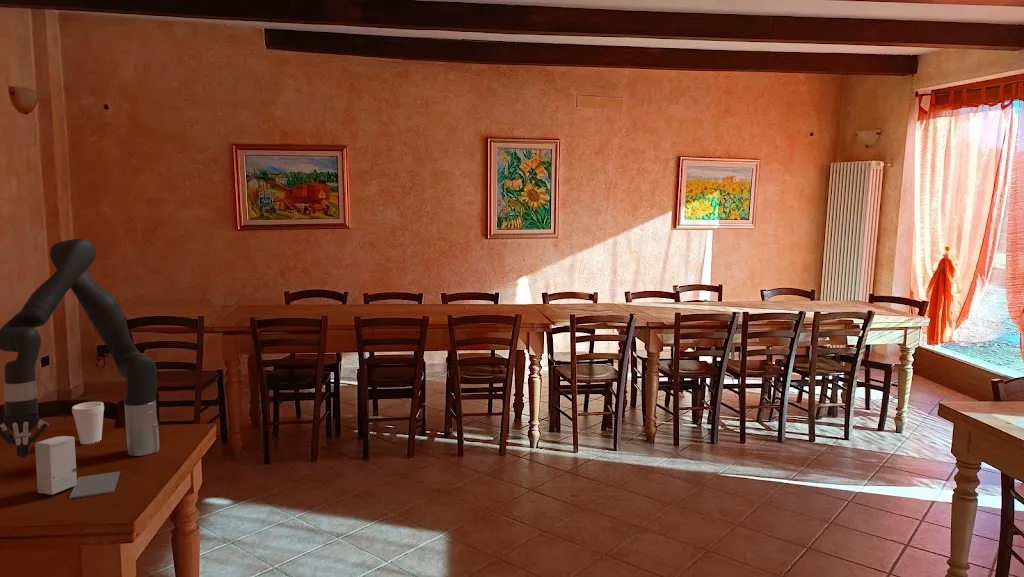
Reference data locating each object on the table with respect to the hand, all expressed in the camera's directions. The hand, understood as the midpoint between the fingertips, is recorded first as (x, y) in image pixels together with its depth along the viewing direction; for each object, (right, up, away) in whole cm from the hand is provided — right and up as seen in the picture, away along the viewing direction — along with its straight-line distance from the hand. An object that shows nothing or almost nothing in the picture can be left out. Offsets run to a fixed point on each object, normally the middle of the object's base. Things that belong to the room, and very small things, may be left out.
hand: (23, 456), depth 194 cm
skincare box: (+6, -11, +5) cm, 14 cm away
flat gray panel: (+15, -11, +9) cm, 20 cm away
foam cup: (-10, -6, +47) cm, 48 cm away
